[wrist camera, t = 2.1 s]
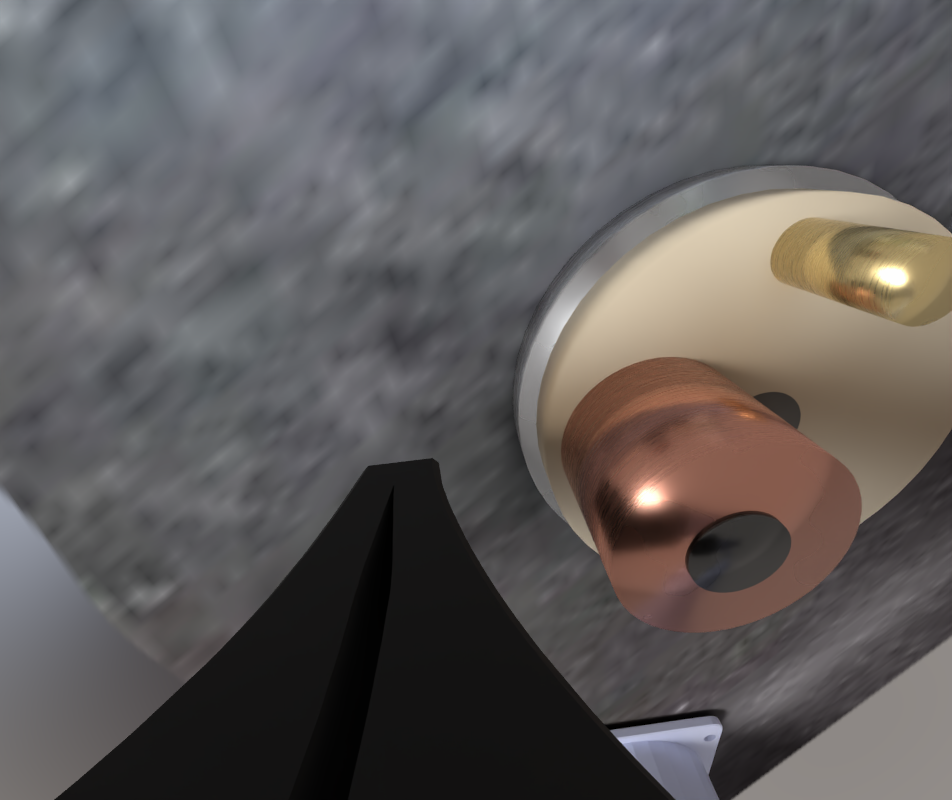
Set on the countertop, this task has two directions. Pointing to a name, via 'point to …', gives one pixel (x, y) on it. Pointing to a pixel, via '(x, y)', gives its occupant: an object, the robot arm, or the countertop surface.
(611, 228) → the base
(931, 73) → the countertop surface
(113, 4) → the countertop surface
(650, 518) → the cover
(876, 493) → the turntable
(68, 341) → the countertop surface
